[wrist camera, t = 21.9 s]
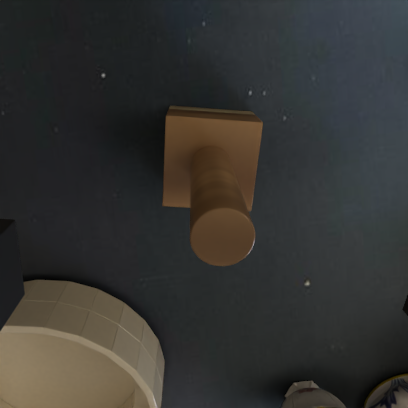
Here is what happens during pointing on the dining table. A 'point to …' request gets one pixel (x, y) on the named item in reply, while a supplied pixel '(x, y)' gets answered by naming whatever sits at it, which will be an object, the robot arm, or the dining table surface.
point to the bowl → (78, 351)
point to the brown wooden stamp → (213, 178)
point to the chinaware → (329, 404)
